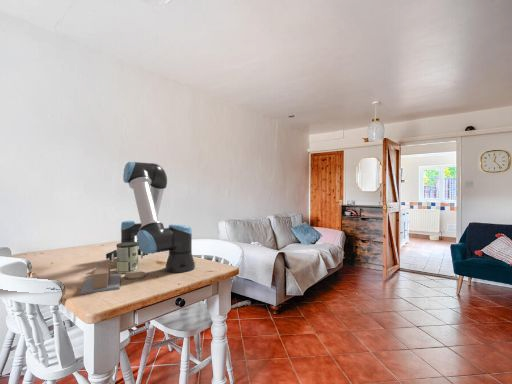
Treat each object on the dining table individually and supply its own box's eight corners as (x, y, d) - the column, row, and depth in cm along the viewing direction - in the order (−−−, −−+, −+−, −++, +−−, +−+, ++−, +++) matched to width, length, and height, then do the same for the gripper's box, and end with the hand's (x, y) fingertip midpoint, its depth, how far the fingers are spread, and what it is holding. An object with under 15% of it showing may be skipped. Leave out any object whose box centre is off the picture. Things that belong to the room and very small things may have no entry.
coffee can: (122, 267, 144) (122, 241, 144) (141, 267, 145) (141, 241, 145) (112, 273, 134) (112, 245, 134) (133, 273, 134) (133, 245, 135)
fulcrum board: (119, 288, 113) (119, 272, 113) (80, 294, 107) (79, 276, 107) (120, 275, 131) (120, 261, 131) (87, 279, 125) (87, 264, 125)
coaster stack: (149, 275, 133) (149, 271, 133) (138, 281, 124) (138, 277, 124) (132, 274, 134) (132, 270, 134) (120, 280, 125) (120, 276, 125)
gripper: (150, 253, 161) (153, 262, 142) (103, 258, 151) (99, 267, 131) (150, 241, 161) (153, 247, 142) (103, 245, 151) (99, 252, 131)
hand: (127, 257), depth 137 cm, fingers open, 13 cm apart
